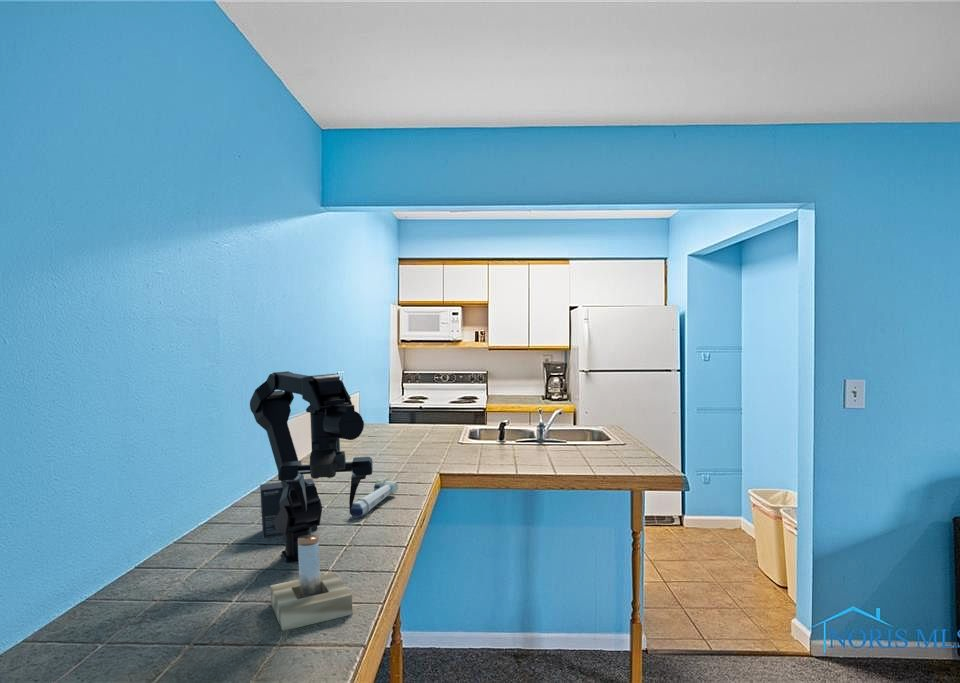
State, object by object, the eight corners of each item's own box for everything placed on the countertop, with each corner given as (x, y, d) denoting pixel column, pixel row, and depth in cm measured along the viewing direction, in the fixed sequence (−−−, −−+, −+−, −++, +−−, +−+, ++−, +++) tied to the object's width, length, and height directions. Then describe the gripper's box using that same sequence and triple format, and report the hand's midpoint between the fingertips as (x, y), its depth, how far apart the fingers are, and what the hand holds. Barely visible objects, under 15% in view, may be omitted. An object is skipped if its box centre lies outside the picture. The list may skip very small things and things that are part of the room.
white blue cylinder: (362, 501, 167) (402, 476, 191) (340, 500, 169) (382, 475, 193) (363, 521, 167) (403, 493, 191) (341, 519, 169) (383, 492, 193)
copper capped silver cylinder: (298, 607, 115) (295, 536, 115) (318, 602, 117) (315, 533, 116) (302, 615, 112) (299, 542, 111) (323, 610, 113) (320, 538, 113)
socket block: (271, 604, 117) (270, 585, 117) (335, 589, 122) (334, 571, 122) (282, 631, 106) (281, 610, 106) (352, 614, 112) (351, 594, 111)
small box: (314, 522, 165) (313, 477, 165) (317, 530, 159) (316, 483, 159) (261, 530, 161) (259, 483, 160) (262, 538, 154) (260, 489, 154)
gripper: (271, 444, 122) (274, 524, 122) (369, 439, 124) (372, 517, 125) (281, 434, 133) (284, 508, 133) (371, 430, 135) (374, 502, 136)
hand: (328, 509), depth 131 cm, fingers open, 9 cm apart
